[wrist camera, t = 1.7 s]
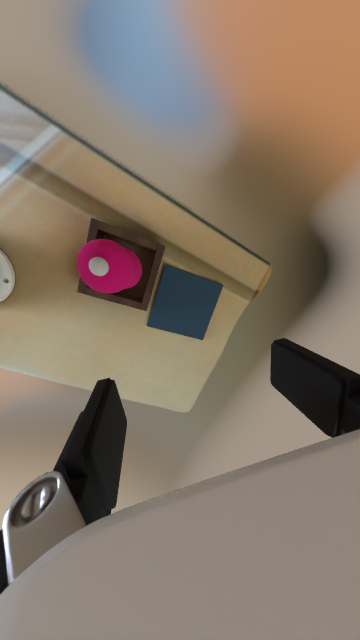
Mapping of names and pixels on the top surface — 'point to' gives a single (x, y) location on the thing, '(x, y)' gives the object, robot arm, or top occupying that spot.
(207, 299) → the mat
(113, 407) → the robot arm
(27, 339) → the top surface
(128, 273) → the pepper mill
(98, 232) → the stand
